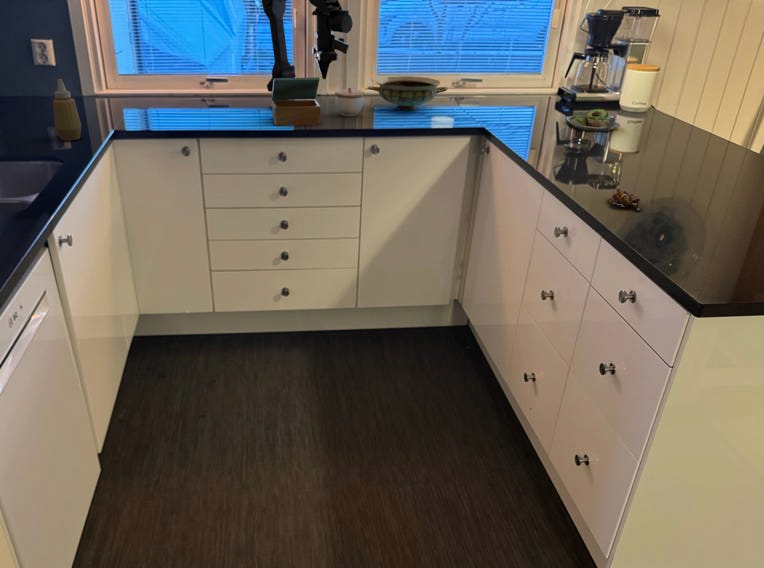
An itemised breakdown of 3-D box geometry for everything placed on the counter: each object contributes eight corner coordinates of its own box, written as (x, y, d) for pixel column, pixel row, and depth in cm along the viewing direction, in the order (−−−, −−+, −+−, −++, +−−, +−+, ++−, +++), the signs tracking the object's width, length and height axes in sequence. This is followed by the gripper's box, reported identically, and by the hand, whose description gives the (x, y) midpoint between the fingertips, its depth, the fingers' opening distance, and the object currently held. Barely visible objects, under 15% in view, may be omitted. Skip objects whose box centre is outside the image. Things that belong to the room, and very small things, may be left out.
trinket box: (364, 111, 259) (365, 85, 254) (362, 118, 250) (363, 90, 245) (335, 110, 260) (336, 84, 255) (333, 117, 251) (334, 90, 246)
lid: (319, 79, 235) (319, 77, 235) (274, 80, 233) (273, 78, 233) (315, 99, 247) (315, 97, 247) (272, 100, 245) (271, 97, 245)
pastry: (635, 196, 176) (639, 182, 174) (640, 212, 166) (644, 197, 164) (606, 194, 177) (609, 180, 175) (609, 209, 168) (613, 194, 166)
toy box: (320, 124, 241) (320, 106, 237) (275, 126, 239) (275, 107, 235) (315, 117, 251) (315, 99, 247) (272, 118, 249) (271, 100, 245)
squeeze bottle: (59, 143, 216) (48, 82, 207) (55, 137, 223) (44, 78, 213) (85, 140, 220) (75, 80, 210) (80, 134, 226) (70, 76, 216)
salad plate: (631, 133, 233) (635, 119, 231) (579, 133, 232) (582, 119, 230) (609, 120, 249) (612, 107, 247) (560, 120, 249) (563, 107, 246)
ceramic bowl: (443, 103, 274) (446, 76, 269) (447, 116, 254) (450, 87, 248) (368, 101, 276) (369, 74, 271) (366, 114, 256) (367, 85, 251)
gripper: (352, 33, 229) (351, 83, 238) (342, 27, 245) (341, 74, 253) (320, 34, 228) (319, 84, 236) (312, 27, 244) (311, 74, 252)
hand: (324, 79), depth 244 cm, fingers closed
